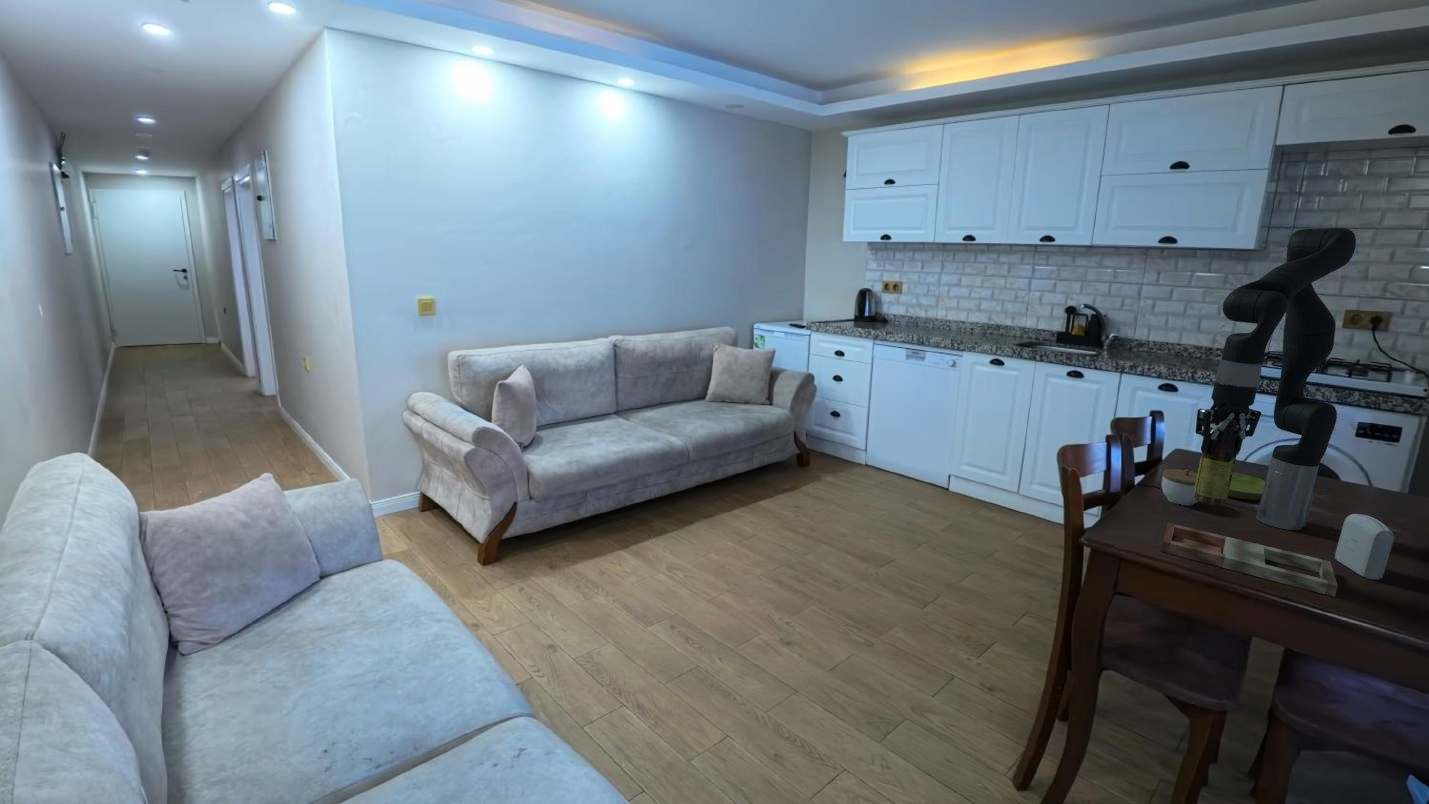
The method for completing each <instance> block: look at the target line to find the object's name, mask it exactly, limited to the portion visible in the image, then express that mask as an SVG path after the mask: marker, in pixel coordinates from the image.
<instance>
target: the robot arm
mask: <svg viewBox="0 0 1429 804" xmlns="http://www.w3.org/2000/svg"><path fill="white" fill-rule="evenodd" d="M1356 243H1357V239H1356V234H1355V233H1354V231H1353V230H1351V229H1349V228H1346V227H1345V228H1344V227H1324V228H1323V227H1321V228H1305V229H1304V228H1302V229H1298V230H1295V231H1294V232H1293V233H1292V234H1291V236H1290V238H1289V240H1288V243H1287V248H1286V262H1285V263H1283V264H1281V265H1278V266H1276V267H1274V268H1272V269H1271V270H1270V271H1268V272H1267V273H1266V274H1265V275H1263V277H1261V278H1259V279H1257V280H1254V281H1252V282H1249V283H1246V284H1243V285H1241V286H1238V287H1237V288H1236V289H1233V290H1232V291H1231V292H1229V294H1228V295H1227V296H1226V297H1225V299H1224V300H1223V304H1222V313H1223V315H1224V316H1225V318H1227V319H1228V320H1230V321H1233V322H1237V323H1247V324H1256V327H1255V328H1253V330H1252V331H1250V332H1241V333H1240V332H1239V333H1237V332H1236V333H1231V334H1229V335H1228V336H1227V337H1226V340H1225V343H1224V347H1223V352H1222V356H1221V360H1220V361H1219V362H1220V363H1219V364H1218V365H1219V366H1218V368H1217V371H1216V376H1215V381H1214V385H1213V389H1212V391H1211V400H1212V401H1213V404H1212V405H1211V407H1210V408H1208V409H1204V408H1198V409H1197V412H1196V423H1195V434H1197V435H1199V436H1201V437H1202V442H1201V445H1200V446H1201V447H1200V451H1201V454H1202V453H1203V454H1206V455H1212V454H1213V450H1214V445H1215V441H1216V440H1214V439H1215V438H1216V437H1217V435H1218V434H1219V432H1221V431H1223V430H1224V428H1225V427H1226V426H1227V424H1228V423H1229V421H1231V420H1237V426H1236V427H1235V430H1234V435H1233V436H1234V437H1233V439H1234V444H1235V450H1236V455H1239V453H1240V452H1241V449H1242V446H1243V441H1244V440H1245V439H1246V438H1248V437H1249V438H1252V437H1253V436H1254V435H1255V432H1256V428H1257V426H1258V424H1259V421H1260V418H1261V415H1262V412H1261V411H1260V410H1256V409H1253V408H1250V407H1251V406H1253V405H1254V404H1255V399H1256V397H1257V396H1256V395H1257V392H1258V387H1259V383H1260V379H1261V374H1262V366H1263V365H1262V364H1263V361H1264V357H1265V353H1266V349H1267V347H1268V343H1269V341H1270V339H1271V337H1272V335H1273V333H1274V332H1275V330H1276V329H1277V327H1278V326H1279V324H1280V322H1281V321H1282V320H1283V318H1284V316H1285V319H1284V327H1283V338H1282V358H1281V359H1282V360H1281V368H1280V369H1281V370H1280V376H1279V377H1280V378H1279V383H1278V388H1277V393H1276V398H1275V404H1274V408H1273V422H1274V425H1275V426H1276V428H1278V429H1279V430H1281V431H1285V432H1288V433H1290V434H1295V435H1299V436H1301V437H1300V438H1299V441H1298V442H1297V443H1295V444H1279V445H1276V446H1275V447H1274V448H1273V451H1272V454H1271V458H1270V462H1269V466H1268V470H1267V475H1266V478H1265V480H1264V481H1265V485H1264V489H1263V493H1262V497H1261V500H1259V506H1258V509H1257V512H1256V516H1255V518H1256V519H1257V521H1259V522H1261V523H1262V524H1266V525H1268V526H1270V527H1274V528H1278V529H1284V530H1289V531H1290V530H1291V531H1300V530H1302V528H1306V525H1307V522H1308V517H1309V514H1310V511H1311V508H1312V507H1311V506H1312V503H1313V500H1314V498H1315V492H1314V491H1313V489H1314V485H1315V482H1316V478H1317V474H1318V470H1319V467H1320V465H1321V461H1322V458H1323V457H1324V456H1325V454H1326V452H1327V448H1328V445H1329V443H1330V440H1331V438H1332V435H1333V432H1334V430H1335V426H1336V423H1337V419H1338V412H1337V409H1336V406H1335V405H1333V404H1332V403H1328V402H1324V401H1320V400H1316V399H1311V398H1307V397H1305V396H1304V395H1305V394H1304V391H1305V385H1306V383H1307V380H1308V379H1309V377H1310V375H1311V374H1313V372H1314V371H1316V369H1317V368H1318V367H1319V366H1321V364H1322V363H1323V362H1325V360H1327V359H1328V357H1329V356H1330V354H1331V353H1332V351H1333V349H1334V346H1335V345H1334V344H1335V336H1336V320H1335V318H1334V316H1333V314H1332V312H1331V311H1330V310H1329V308H1328V307H1327V306H1326V304H1325V303H1324V302H1323V300H1322V299H1321V297H1320V296H1319V295H1318V294H1317V292H1316V290H1315V288H1314V286H1313V283H1314V282H1316V281H1318V280H1320V279H1321V278H1324V277H1326V276H1327V275H1329V274H1331V273H1334V272H1335V271H1338V270H1339V269H1342V268H1343V267H1344V266H1346V265H1347V264H1348V263H1349V262H1350V260H1351V259H1352V258H1353V256H1354V254H1355V250H1356V248H1357V247H1356V246H1357V245H1356ZM1214 423H1216V424H1217V425H1218V426H1216V425H1215V424H1214ZM1211 431H1212V432H1211Z"/></svg>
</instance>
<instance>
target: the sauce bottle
mask: <svg viewBox="0 0 1429 804" xmlns="http://www.w3.org/2000/svg"><path fill="white" fill-rule="evenodd" d="M1214 425H1216V426H1218V425H1217V424H1216V423H1214ZM1236 426H1237V420H1231V421H1229V423H1228V424H1227V426H1226V427H1225V428H1224V430H1223V431H1221V432H1219V434H1218V435H1217V437H1216V438H1215V439H1214V440H1216V441H1215V445H1214V450H1213V454H1212V455H1206V454H1203V453H1202V452H1201V455H1200V460H1199V465H1198V474H1197V479H1196V484H1195V489H1194V493H1195V494H1194V498H1195V499H1196V500H1197V501H1199V502H1198V503H1201V504H1204V505H1209V506H1217V507H1221V506H1225V505H1226V502H1227V499H1228V498H1229V497H1228V493H1229V489H1230V484H1231V480H1232V474H1233V472H1234V470H1235V469H1234V468H1235V464H1236V460H1237V455H1236V450H1235V444H1234V439H1233V437H1234V436H1233V435H1234V430H1235V427H1236Z"/></svg>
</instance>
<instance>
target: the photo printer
mask: <svg viewBox="0 0 1429 804" xmlns="http://www.w3.org/2000/svg"><path fill="white" fill-rule="evenodd" d="M1394 541H1395V535H1394V533H1393V531H1392V530H1391V528H1389V527H1388V526H1387V525H1386V524H1384V522H1382V521H1380V520H1379V519H1377V518H1375V517H1372V516H1370V515H1366V514H1359V513H1352V514H1349V515H1348V516H1347V517H1346V518H1345V519H1344V522H1343V525H1342V529H1341V532H1340V535H1339V538H1338V543H1337V547H1336V549H1335V555H1334V559H1335V560H1336V561H1338V562H1339V563H1341V565H1343V566H1345V567H1347V568H1349V569H1350V570H1351V571H1353V572H1355V573H1356V574H1358V575H1360V576H1361V577H1364V578H1365V579H1369V580H1377V581H1379V580H1380V579H1382V578H1383V576H1384V575H1385V574H1384V573H1385V571H1386V567H1387V564H1388V561H1389V557H1390V554H1391V550H1392V548H1393V543H1394Z"/></svg>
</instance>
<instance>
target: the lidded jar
mask: <svg viewBox="0 0 1429 804" xmlns="http://www.w3.org/2000/svg"><path fill="white" fill-rule="evenodd" d="M1197 474H1198V473H1194V472H1191V470H1189V469H1187V468H1186V469H1175V468H1170V469H1169V468H1167V469H1164V470H1163V471H1162V477H1161V490H1162V492H1163V494H1164V496H1165V497H1166V498H1167V500H1168V501H1169V502H1171V503H1173V504H1176V505H1179V504H1181V506H1185V505H1186V506H1185V507H1187V506H1188V507H1190V506H1194V505H1195V504H1197V503H1200V502H1199V501H1197V500H1196V499H1195V498H1194V494H1195V493H1194V489H1195V484H1196V479H1197Z"/></svg>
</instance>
